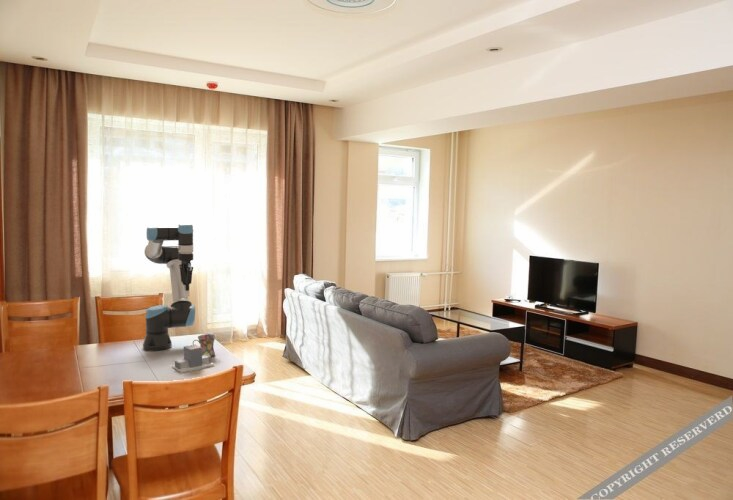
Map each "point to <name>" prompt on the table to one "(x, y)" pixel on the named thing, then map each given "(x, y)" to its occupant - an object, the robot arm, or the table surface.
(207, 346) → the mug
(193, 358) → the module
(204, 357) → the butter dish
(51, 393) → the table surface
